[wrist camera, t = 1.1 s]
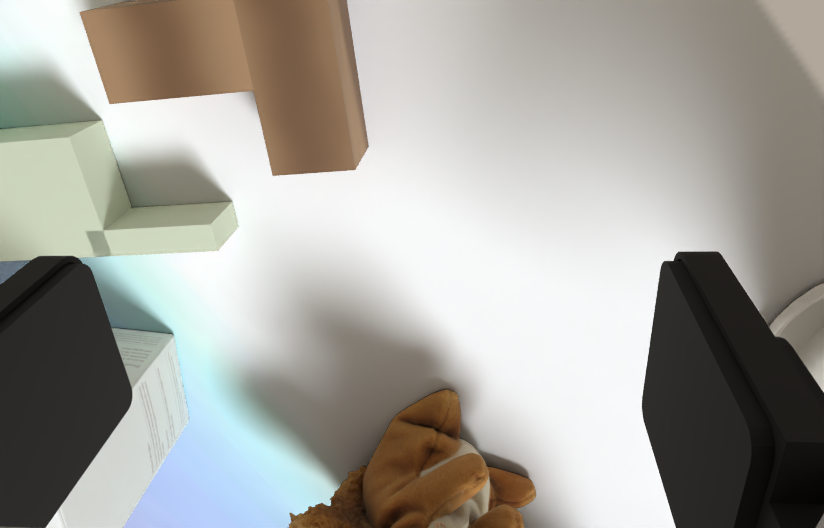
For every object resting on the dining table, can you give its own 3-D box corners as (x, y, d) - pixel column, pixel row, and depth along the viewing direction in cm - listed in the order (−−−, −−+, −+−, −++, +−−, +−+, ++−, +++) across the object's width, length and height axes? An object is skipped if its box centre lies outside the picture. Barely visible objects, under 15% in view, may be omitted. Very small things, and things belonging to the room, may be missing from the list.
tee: (327, -127, 28) (305, -132, 25) (368, 146, 33) (355, 169, 30) (92, -92, 29) (45, -93, 26) (168, 161, 35) (136, 185, 32)
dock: (125, -210, 27) (84, -224, 24) (238, 226, 36) (217, 250, 34) (-177, -157, 30) (-244, -164, 27) (1, 239, 39) (-36, 263, 36)
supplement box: (65, 320, 41) (-97, 469, 30) (177, 332, 40) (54, 489, 29) (88, 410, 45) (-49, 573, 34) (192, 422, 44) (87, 593, 33)
